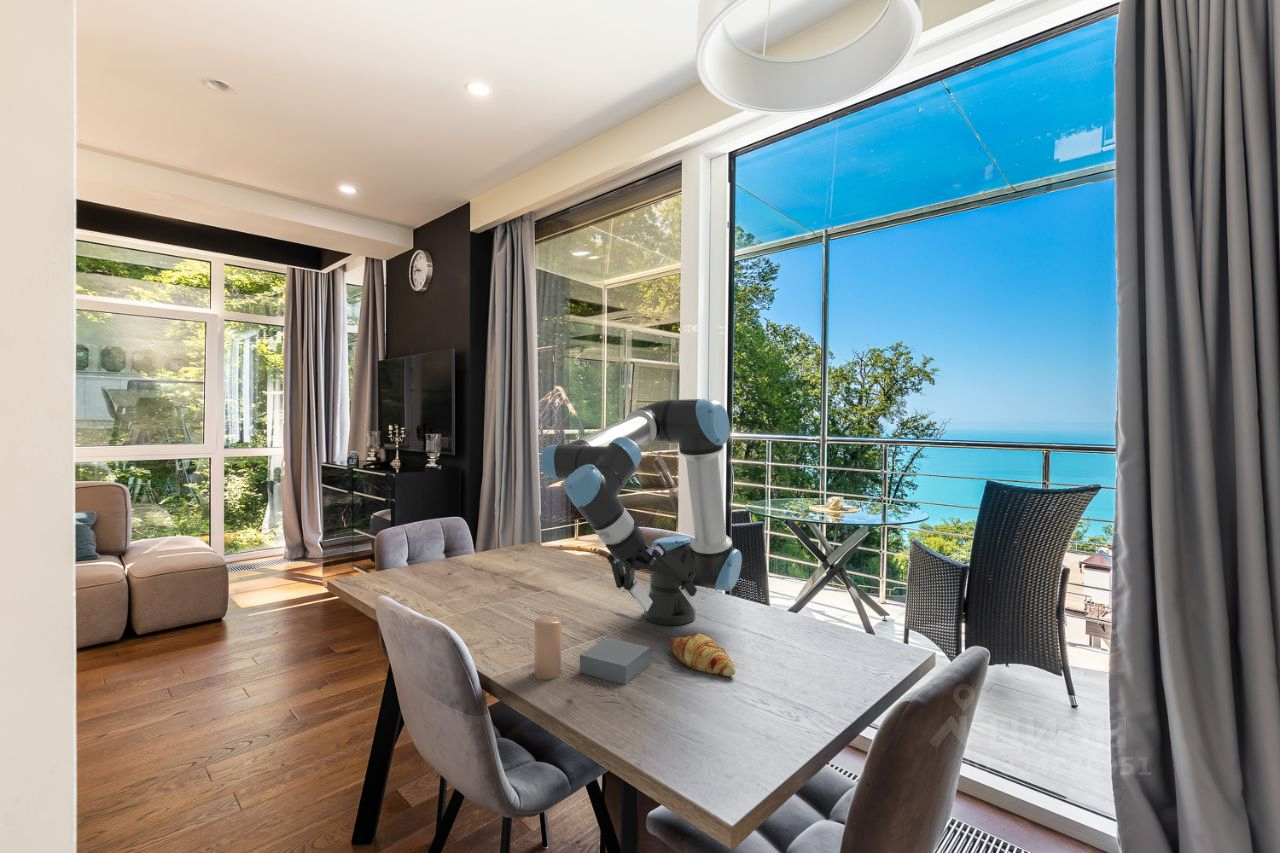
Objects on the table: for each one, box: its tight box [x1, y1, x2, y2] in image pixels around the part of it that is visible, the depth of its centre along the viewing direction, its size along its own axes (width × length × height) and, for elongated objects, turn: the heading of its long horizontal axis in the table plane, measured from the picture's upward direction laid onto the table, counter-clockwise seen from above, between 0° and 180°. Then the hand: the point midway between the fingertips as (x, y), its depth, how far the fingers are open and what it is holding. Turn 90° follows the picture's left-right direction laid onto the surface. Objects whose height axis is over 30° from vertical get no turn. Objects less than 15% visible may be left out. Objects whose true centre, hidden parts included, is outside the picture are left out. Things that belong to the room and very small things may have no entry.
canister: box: [533, 615, 562, 681], centre depth 131 cm, size 6×6×12 cm
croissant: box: [669, 632, 736, 677], centre depth 137 cm, size 21×10×8 cm, turn 40°
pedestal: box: [579, 637, 652, 685], centre depth 134 cm, size 12×12×4 cm
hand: (673, 605), depth 123 cm, fingers open, 13 cm apart
